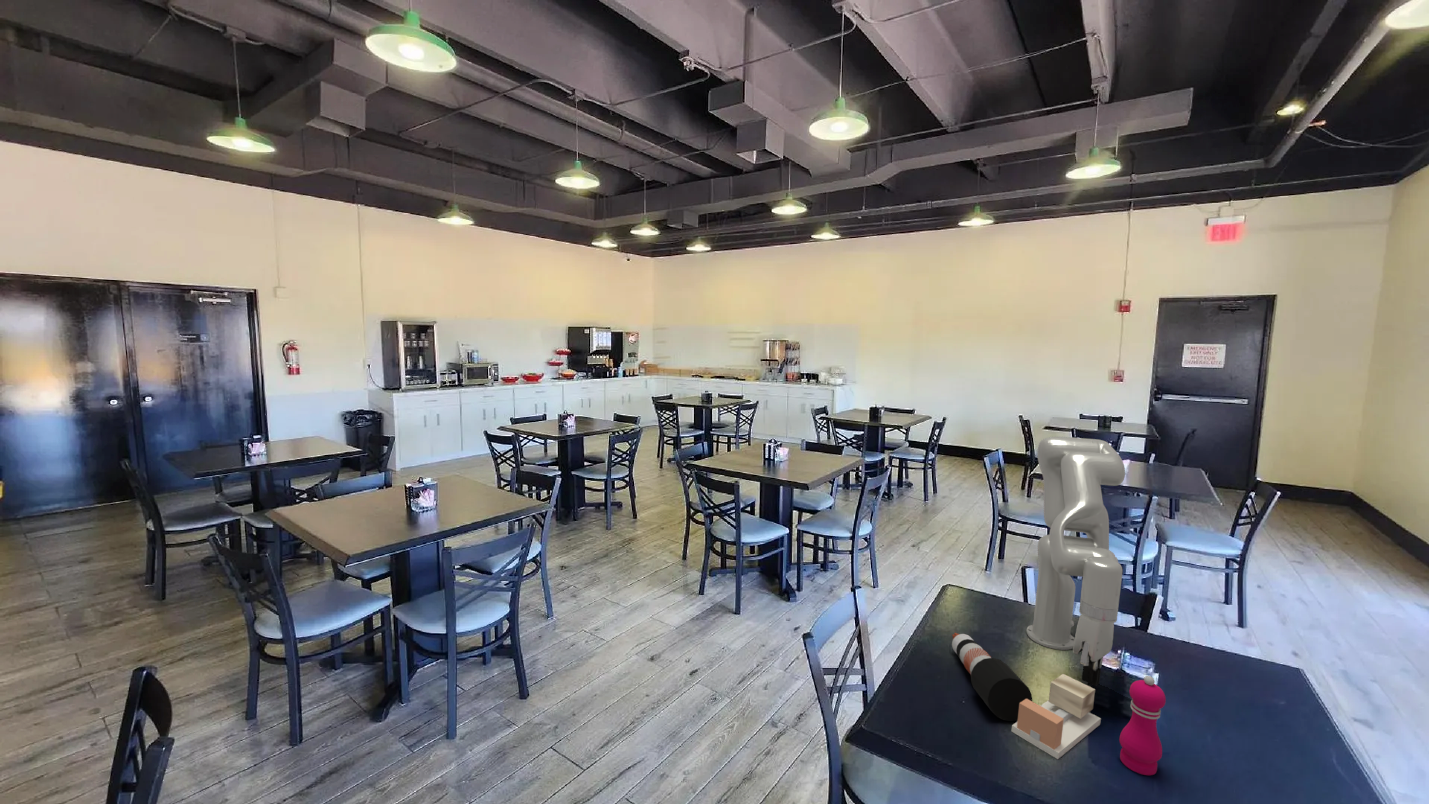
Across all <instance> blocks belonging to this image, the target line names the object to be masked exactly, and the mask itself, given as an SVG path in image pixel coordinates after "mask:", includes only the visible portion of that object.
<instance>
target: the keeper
mask: <svg viewBox="0 0 1429 804" xmlns="http://www.w3.org/2000/svg"><path fill="white" fill-rule="evenodd" d="M1049 684H1050V686H1049V694H1048V700H1049V702H1050V703H1052V704H1054V705H1056V706H1058V707H1060V708H1061V709H1063V710H1065V711H1067V712H1069V713H1071V714H1073V715H1075V716H1076V717H1078V718H1080V719H1081V718H1082V717H1083V716H1085V715H1086V714H1087V713H1088V712H1089V713H1091V711H1092V710H1093V709H1094V702H1095V693H1096V689H1095V688H1093V687H1091V686H1090V685H1087V684H1085V683H1082V682H1081V681H1080V680H1077V679H1074V678H1073V677H1071V676H1069V675H1066V674H1064V673H1062V674H1061V675H1059V676H1057V677H1056V678H1054V679H1053V680H1052V681H1050V683H1049Z"/></svg>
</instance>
